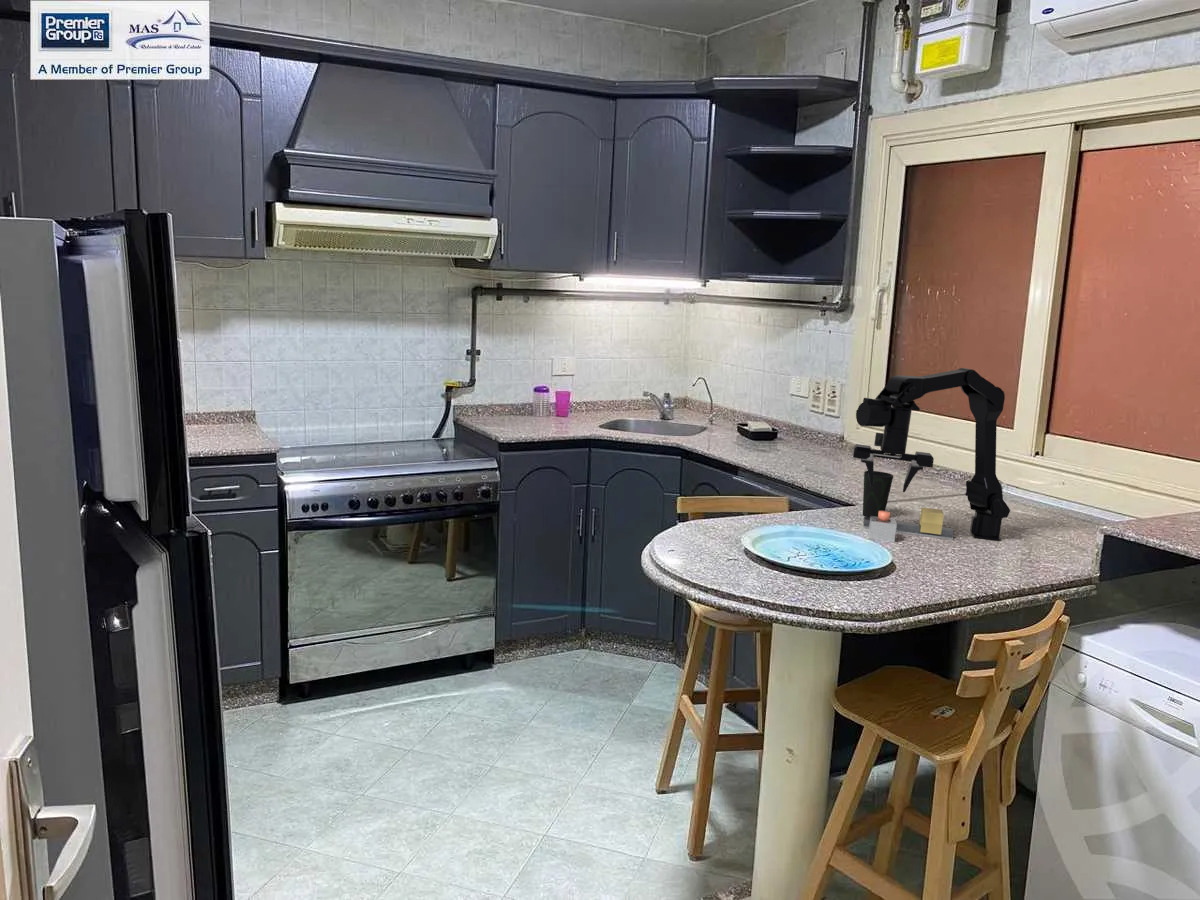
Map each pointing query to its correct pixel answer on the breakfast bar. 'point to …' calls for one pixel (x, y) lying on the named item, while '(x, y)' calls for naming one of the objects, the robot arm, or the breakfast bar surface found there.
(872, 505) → the cup
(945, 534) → the rail
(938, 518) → the carriage
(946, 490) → the breakfast bar surface
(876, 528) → the cabinet
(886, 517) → the button
